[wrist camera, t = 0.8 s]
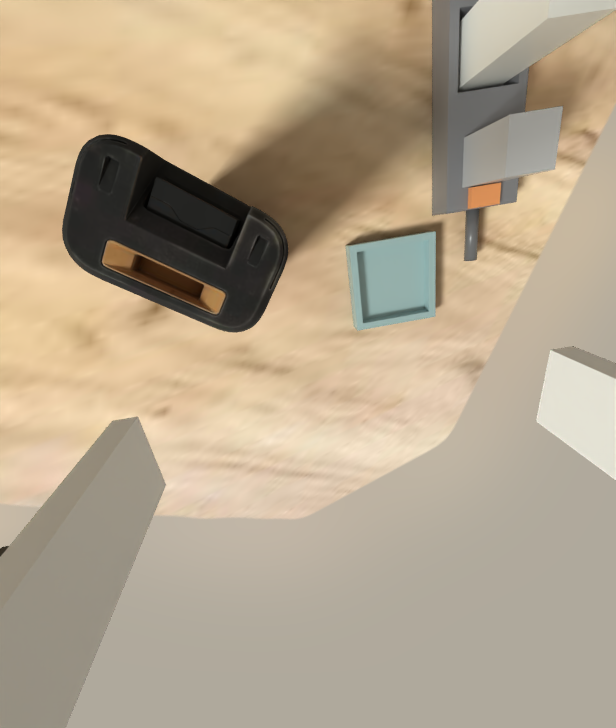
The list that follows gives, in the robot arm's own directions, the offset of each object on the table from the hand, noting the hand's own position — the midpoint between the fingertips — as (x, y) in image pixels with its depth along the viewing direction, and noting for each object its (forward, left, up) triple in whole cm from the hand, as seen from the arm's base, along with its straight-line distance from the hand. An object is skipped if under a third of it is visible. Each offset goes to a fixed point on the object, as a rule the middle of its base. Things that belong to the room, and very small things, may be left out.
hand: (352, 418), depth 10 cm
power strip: (-12, +19, -27) cm, 35 cm away
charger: (-17, +19, -26) cm, 36 cm away
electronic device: (-6, -6, -27) cm, 28 cm away
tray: (+1, +10, -27) cm, 29 cm away
